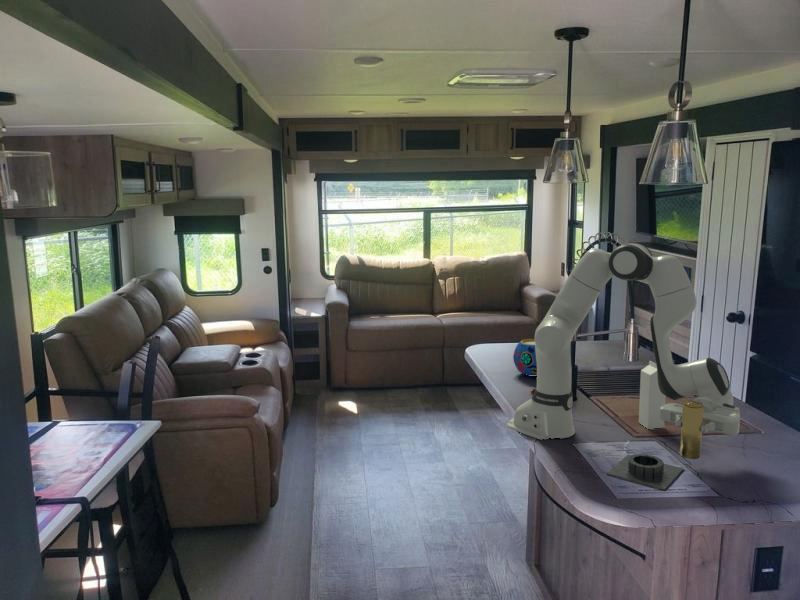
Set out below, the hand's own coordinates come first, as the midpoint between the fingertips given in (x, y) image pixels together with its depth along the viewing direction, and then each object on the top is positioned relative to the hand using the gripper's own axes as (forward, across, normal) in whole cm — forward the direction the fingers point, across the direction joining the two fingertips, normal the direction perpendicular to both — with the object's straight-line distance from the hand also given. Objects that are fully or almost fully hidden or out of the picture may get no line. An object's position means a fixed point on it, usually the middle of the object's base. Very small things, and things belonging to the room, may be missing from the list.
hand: (690, 426), depth 170 cm
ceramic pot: (-68, -83, +18) cm, 109 cm away
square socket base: (-1, -12, +17) cm, 20 cm away
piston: (-1, 0, +8) cm, 8 cm away
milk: (-38, -22, +17) cm, 47 cm away
